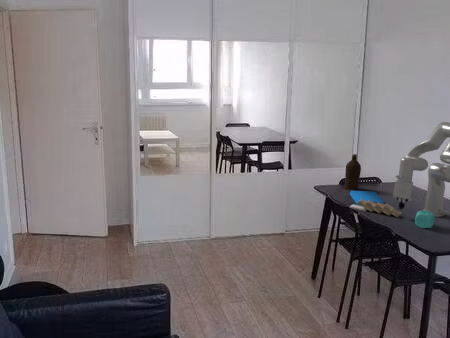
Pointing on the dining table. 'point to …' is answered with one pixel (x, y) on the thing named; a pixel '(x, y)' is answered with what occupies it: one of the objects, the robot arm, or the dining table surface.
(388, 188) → the dining table surface
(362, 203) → the domino
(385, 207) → the domino
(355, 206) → the end domino
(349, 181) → the olive oil
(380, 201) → the book
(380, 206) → the domino
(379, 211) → the domino
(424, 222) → the decorative dice
